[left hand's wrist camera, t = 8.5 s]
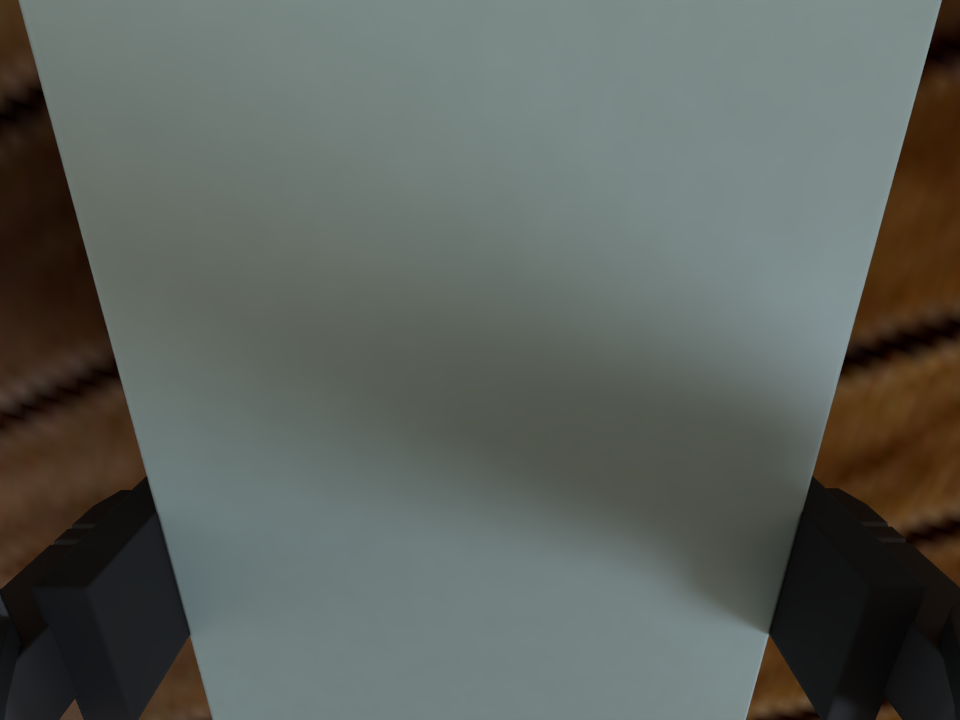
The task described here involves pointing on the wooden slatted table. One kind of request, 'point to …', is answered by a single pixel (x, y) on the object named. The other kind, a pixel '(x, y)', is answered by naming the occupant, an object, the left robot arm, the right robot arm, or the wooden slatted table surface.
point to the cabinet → (479, 327)
